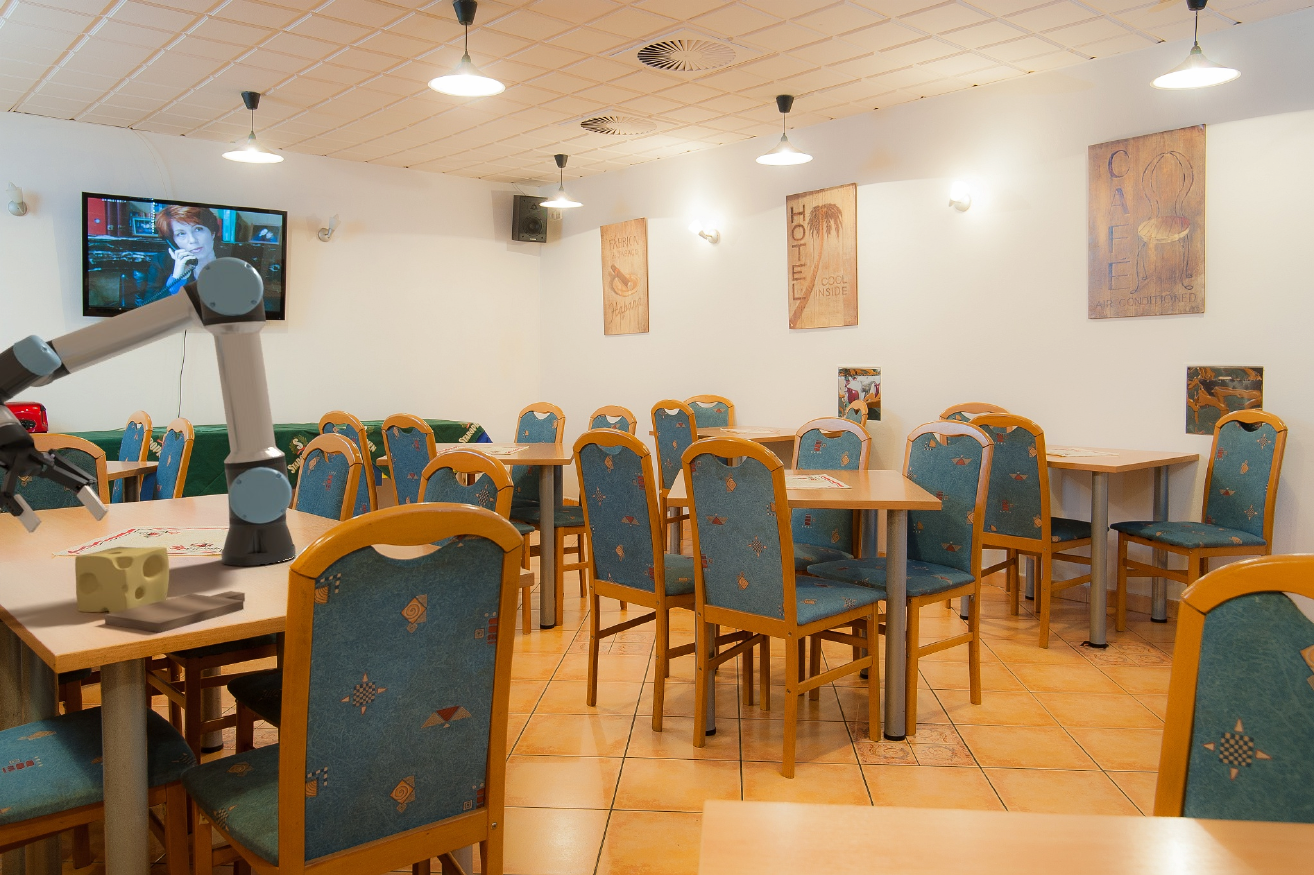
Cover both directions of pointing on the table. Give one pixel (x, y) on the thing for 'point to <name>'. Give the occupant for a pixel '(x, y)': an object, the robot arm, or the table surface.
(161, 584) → the cheese
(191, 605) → the board
